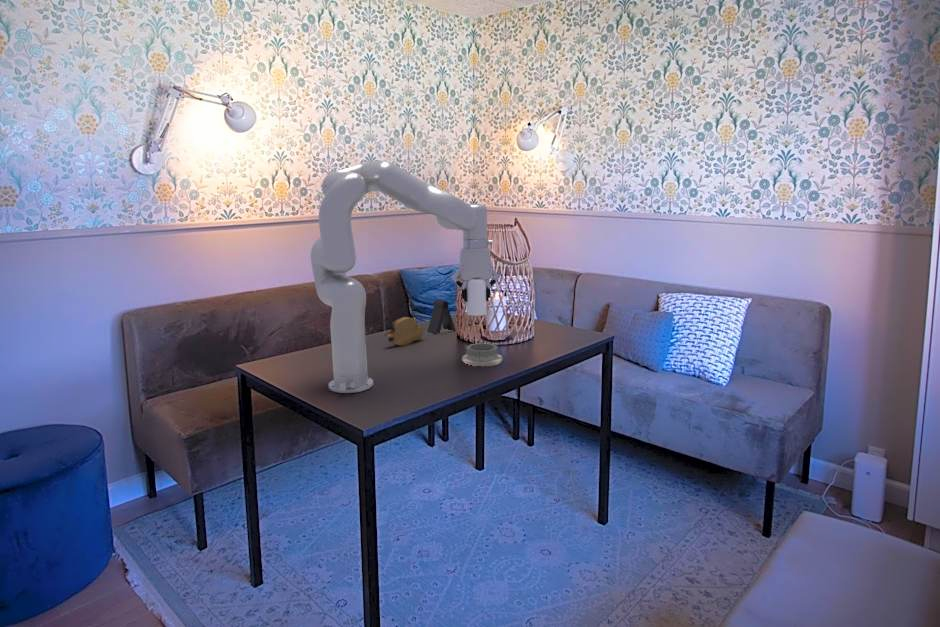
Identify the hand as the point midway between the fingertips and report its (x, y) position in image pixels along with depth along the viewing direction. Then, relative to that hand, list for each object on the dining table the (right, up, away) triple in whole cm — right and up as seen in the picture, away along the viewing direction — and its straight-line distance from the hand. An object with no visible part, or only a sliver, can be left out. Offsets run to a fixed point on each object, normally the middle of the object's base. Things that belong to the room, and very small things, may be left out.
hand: (476, 300), depth 202 cm
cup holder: (+2, -19, +3) cm, 20 cm away
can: (0, -5, +1) cm, 5 cm away
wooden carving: (-25, -15, +24) cm, 38 cm away
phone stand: (-13, -11, +42) cm, 45 cm away
